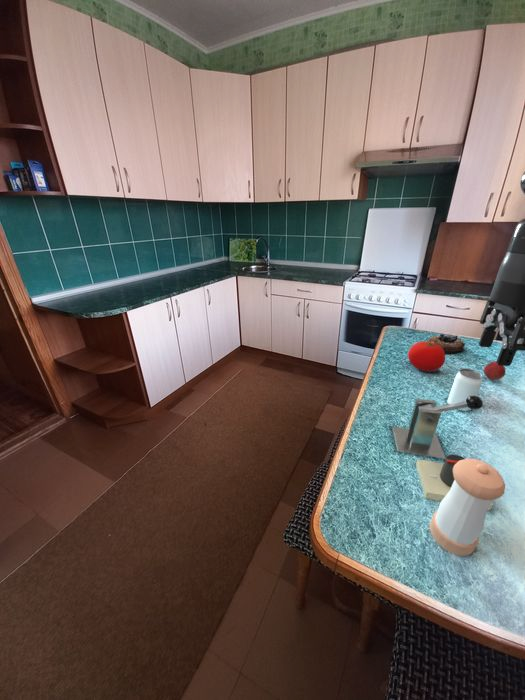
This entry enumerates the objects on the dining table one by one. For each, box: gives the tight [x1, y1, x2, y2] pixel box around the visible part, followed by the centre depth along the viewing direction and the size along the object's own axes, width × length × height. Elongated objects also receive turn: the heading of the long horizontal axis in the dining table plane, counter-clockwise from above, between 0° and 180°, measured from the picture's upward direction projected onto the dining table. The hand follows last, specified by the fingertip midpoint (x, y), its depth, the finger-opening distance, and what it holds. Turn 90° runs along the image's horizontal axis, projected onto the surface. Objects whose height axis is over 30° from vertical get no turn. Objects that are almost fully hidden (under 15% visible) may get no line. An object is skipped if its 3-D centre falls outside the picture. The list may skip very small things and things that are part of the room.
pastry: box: [427, 333, 466, 355], centre depth 123 cm, size 11×12×6 cm
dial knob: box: [440, 454, 466, 487], centre depth 61 cm, size 5×5×5 cm
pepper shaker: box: [429, 458, 506, 557], centre depth 50 cm, size 7×7×19 cm
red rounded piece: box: [483, 360, 506, 381], centre depth 100 cm, size 6×6×8 cm
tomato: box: [407, 340, 446, 372], centre depth 108 cm, size 11×12×10 cm
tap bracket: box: [392, 398, 447, 460], centre depth 73 cm, size 11×9×13 cm
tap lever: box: [418, 395, 484, 413], centre depth 69 cm, size 13×3×3 cm, turn 75°
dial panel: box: [415, 458, 494, 512], centre depth 63 cm, size 12×9×3 cm
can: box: [446, 368, 483, 412], centre depth 87 cm, size 6×6×12 cm
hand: (492, 355), depth 61 cm, fingers open, 8 cm apart
